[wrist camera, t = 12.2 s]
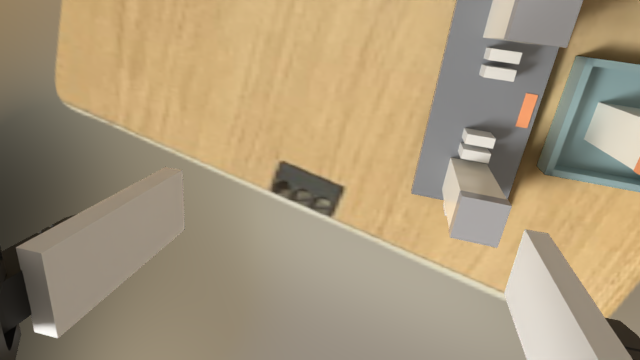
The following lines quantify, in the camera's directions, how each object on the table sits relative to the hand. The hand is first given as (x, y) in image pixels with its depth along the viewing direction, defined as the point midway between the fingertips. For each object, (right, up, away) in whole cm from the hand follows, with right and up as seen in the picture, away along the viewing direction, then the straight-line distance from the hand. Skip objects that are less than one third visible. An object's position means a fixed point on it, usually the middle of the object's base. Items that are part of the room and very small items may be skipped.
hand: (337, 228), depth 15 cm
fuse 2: (+15, +15, +18) cm, 28 cm away
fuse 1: (+13, +2, +23) cm, 27 cm away
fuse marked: (+25, +7, +20) cm, 33 cm away
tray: (+25, +7, +20) cm, 33 cm away
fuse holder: (+15, +9, +22) cm, 28 cm away
